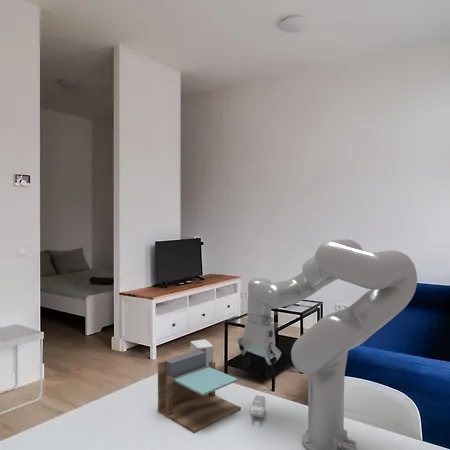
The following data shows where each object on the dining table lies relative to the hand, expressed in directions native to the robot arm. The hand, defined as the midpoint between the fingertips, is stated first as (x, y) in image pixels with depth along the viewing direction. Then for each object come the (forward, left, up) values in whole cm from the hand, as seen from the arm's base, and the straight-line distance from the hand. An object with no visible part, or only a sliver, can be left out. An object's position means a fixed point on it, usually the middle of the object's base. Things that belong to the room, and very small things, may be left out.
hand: (257, 371), depth 128 cm
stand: (+14, +12, -14) cm, 23 cm away
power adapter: (-2, +2, -14) cm, 14 cm away
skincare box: (+29, -2, -14) cm, 33 cm away
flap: (+18, +12, -3) cm, 22 cm away
